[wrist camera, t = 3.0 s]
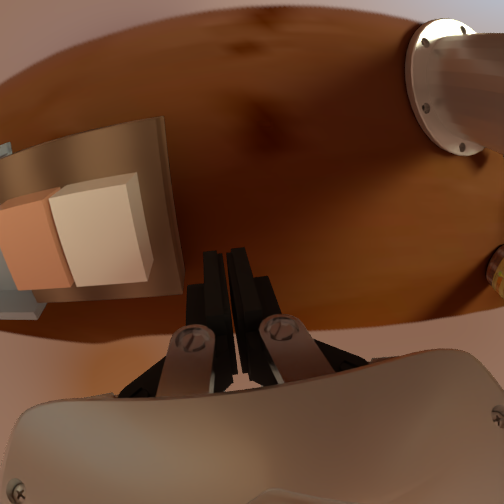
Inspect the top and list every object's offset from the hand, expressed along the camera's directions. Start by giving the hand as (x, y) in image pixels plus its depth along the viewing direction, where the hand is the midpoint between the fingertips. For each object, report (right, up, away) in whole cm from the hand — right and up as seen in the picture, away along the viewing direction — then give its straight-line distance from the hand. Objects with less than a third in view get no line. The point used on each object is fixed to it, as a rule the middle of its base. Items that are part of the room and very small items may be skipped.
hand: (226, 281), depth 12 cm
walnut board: (-11, +4, +8) cm, 14 cm away
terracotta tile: (-14, +3, +5) cm, 14 cm away
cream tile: (-8, +3, +5) cm, 10 cm away
